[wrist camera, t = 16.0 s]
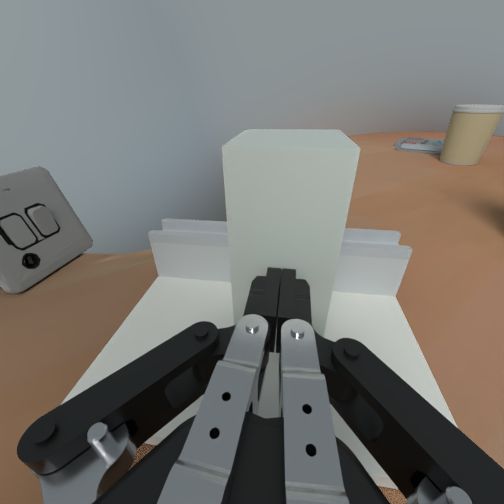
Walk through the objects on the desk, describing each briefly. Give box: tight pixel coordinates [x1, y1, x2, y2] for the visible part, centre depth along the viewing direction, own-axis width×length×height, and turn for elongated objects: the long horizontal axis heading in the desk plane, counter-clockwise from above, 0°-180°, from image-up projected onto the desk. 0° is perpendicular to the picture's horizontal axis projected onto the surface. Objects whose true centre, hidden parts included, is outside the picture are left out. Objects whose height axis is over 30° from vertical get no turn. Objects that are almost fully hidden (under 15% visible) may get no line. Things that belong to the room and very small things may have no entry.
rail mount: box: [61, 218, 458, 490], centre depth 17 cm, size 20×15×5 cm
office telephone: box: [394, 138, 445, 155], centre depth 79 cm, size 23×3×20 cm
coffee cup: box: [440, 105, 504, 165], centre depth 60 cm, size 9×9×12 cm
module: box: [222, 129, 361, 346], centre depth 16 cm, size 6×6×12 cm
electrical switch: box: [0, 167, 93, 294], centre depth 25 cm, size 9×5×9 cm, turn 166°
